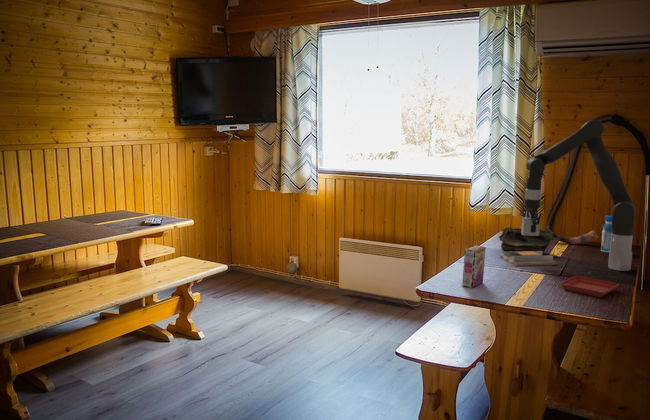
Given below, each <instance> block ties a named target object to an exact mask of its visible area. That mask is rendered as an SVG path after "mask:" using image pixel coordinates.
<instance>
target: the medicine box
mask: <svg viewBox="0 0 650 420" xmlns="http://www.w3.org/2000/svg"><path fill="white" fill-rule="evenodd" d="M532 219H534V218H532ZM537 221H538V220H537ZM533 223H534V221H533ZM531 225H532V224H531V221H530V218H526V217H523V216H522V218H521V228H520V229H521V234H522V235H529V236H539V229H540V225H541V221H540V222H539V225H536V232H535V233H532V232H531Z"/></svg>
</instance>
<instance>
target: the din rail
mask: <svg viewBox="0 0 650 420" xmlns="http://www.w3.org/2000/svg"><path fill="white" fill-rule="evenodd" d="M517 252H532V251H524V250H517V251H516V250H515V251H512V250H511V251H503V255H504V257H506V258H508V259H510V260H512V261H552V260H553V258H554V256H553V255H548V254H547V255H545V254H543V253H542V252H543V251H533V252H535V253H537V254H540V256H522V255H520V254H518V253H517Z"/></svg>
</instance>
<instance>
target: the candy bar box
mask: <svg viewBox="0 0 650 420" xmlns="http://www.w3.org/2000/svg"><path fill="white" fill-rule="evenodd" d="M463 258H464V259H463V270H462V271H463V272H462V285H461V286H462V287H465V288H469V289H473V288H476V287H478V286H480V285H481V284H483V283H484V274H485V273H484V272H485V260H486V259H485V258H486V246H480V245H474V246H470V247H468V248H465V249H464V257H463Z"/></svg>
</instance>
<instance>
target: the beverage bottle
mask: <svg viewBox="0 0 650 420" xmlns="http://www.w3.org/2000/svg"><path fill="white" fill-rule="evenodd" d="M612 215H613V214H608V215H605V216H604V222H605V223H604V224H603V226H602V230H601V234H602V235H601V245H600V251H601V252H603V253H609V252H610V242H611V233H612Z"/></svg>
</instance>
